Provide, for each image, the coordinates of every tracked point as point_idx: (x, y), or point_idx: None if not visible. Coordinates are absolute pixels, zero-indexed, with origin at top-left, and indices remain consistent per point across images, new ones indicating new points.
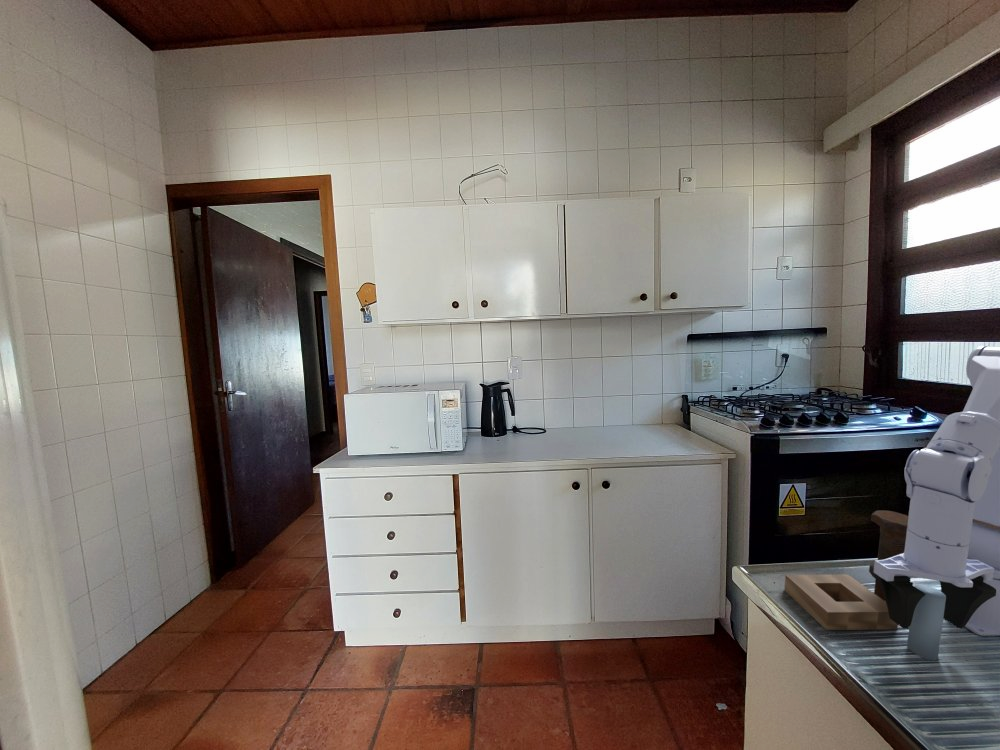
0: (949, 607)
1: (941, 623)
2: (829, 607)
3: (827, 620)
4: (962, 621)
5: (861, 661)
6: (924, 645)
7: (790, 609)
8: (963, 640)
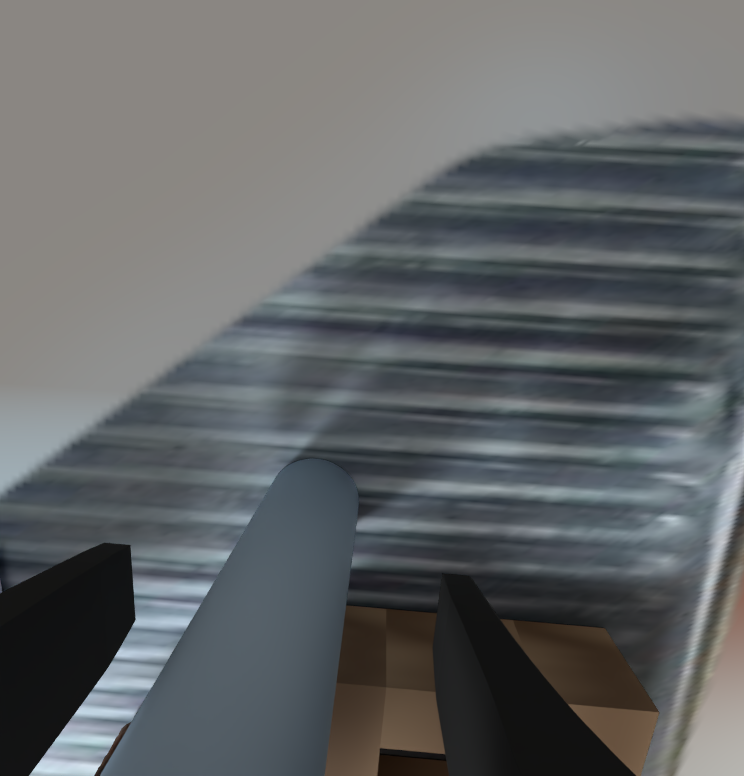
0: (58, 683)
1: (241, 576)
2: (612, 736)
3: (627, 667)
4: (84, 574)
5: (631, 480)
6: (341, 502)
7: None
8: (81, 529)
